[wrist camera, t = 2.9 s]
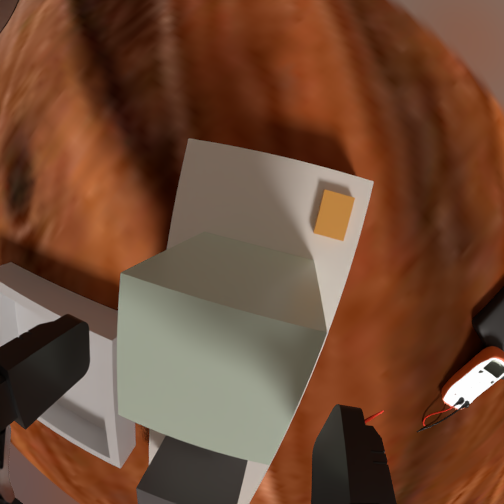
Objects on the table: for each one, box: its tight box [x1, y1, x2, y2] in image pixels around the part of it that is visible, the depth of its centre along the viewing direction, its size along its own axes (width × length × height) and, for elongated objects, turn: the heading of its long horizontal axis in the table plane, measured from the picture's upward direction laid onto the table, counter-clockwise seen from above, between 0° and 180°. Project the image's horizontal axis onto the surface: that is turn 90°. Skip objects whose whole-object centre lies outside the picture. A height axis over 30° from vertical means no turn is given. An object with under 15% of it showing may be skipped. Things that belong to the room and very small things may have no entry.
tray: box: [0, 262, 136, 468], centre depth 21 cm, size 15×15×4 cm
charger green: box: [117, 232, 327, 465], centre depth 13 cm, size 5×5×10 cm
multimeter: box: [365, 286, 504, 432], centre depth 17 cm, size 18×12×3 cm, turn 128°
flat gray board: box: [149, 138, 374, 504], centre depth 18 cm, size 28×9×4 cm, turn 166°
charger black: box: [136, 435, 248, 504], centre depth 16 cm, size 5×5×9 cm
